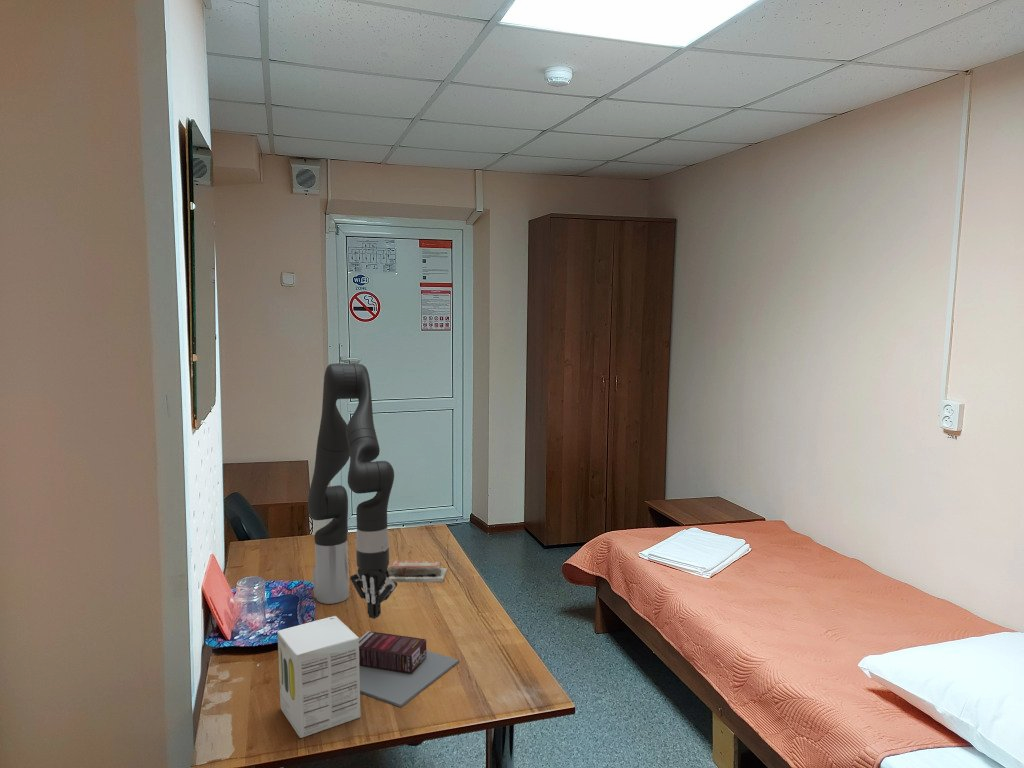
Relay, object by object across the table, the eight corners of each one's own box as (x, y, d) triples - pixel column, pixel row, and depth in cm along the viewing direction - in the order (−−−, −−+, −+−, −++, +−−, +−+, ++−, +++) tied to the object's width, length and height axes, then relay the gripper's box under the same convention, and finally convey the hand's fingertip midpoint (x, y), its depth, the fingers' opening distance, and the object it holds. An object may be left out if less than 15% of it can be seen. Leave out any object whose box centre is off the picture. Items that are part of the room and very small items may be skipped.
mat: (331, 682, 159) (331, 680, 159) (393, 642, 178) (393, 640, 178) (400, 707, 149) (400, 704, 149) (459, 662, 168) (459, 659, 168)
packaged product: (385, 568, 218) (391, 557, 227) (385, 583, 218) (392, 571, 228) (443, 568, 217) (447, 557, 227) (443, 583, 218) (447, 571, 227)
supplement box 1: (278, 708, 149) (275, 630, 147) (338, 689, 157) (336, 614, 155) (299, 739, 138) (296, 655, 136) (362, 717, 146) (360, 637, 144)
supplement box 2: (350, 665, 166) (411, 675, 161) (349, 646, 165) (411, 655, 161) (368, 648, 174) (427, 657, 169) (368, 629, 174) (426, 638, 169)
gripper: (340, 546, 164) (342, 617, 166) (384, 555, 157) (385, 629, 159) (362, 536, 170) (363, 605, 172) (405, 545, 164) (406, 617, 166)
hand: (374, 616), depth 166 cm, fingers closed
